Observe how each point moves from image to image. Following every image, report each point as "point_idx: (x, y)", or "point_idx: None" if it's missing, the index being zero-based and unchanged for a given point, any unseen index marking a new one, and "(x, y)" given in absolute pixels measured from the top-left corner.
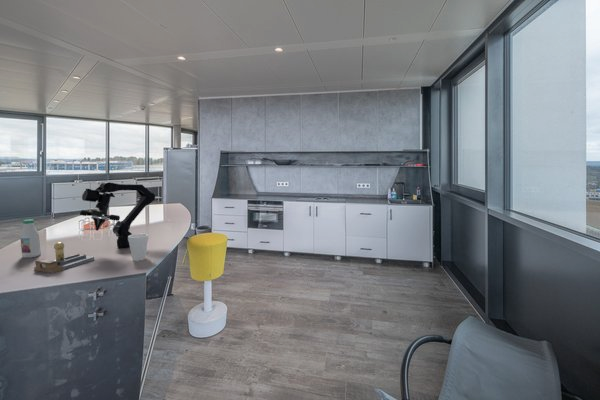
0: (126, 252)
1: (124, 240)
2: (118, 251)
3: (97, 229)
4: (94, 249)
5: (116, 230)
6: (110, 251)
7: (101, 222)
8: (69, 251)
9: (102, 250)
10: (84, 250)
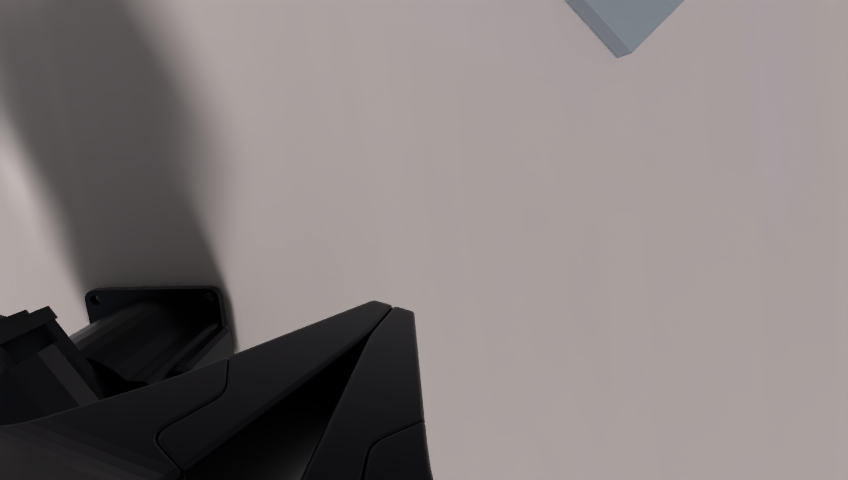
0: (85, 60)
1: (83, 333)
2: (193, 152)
3: (368, 309)
4: (473, 354)
5: (29, 417)
6: (286, 191)
7: (77, 417)
8: (716, 370)
9: (382, 275)
10: (571, 352)
